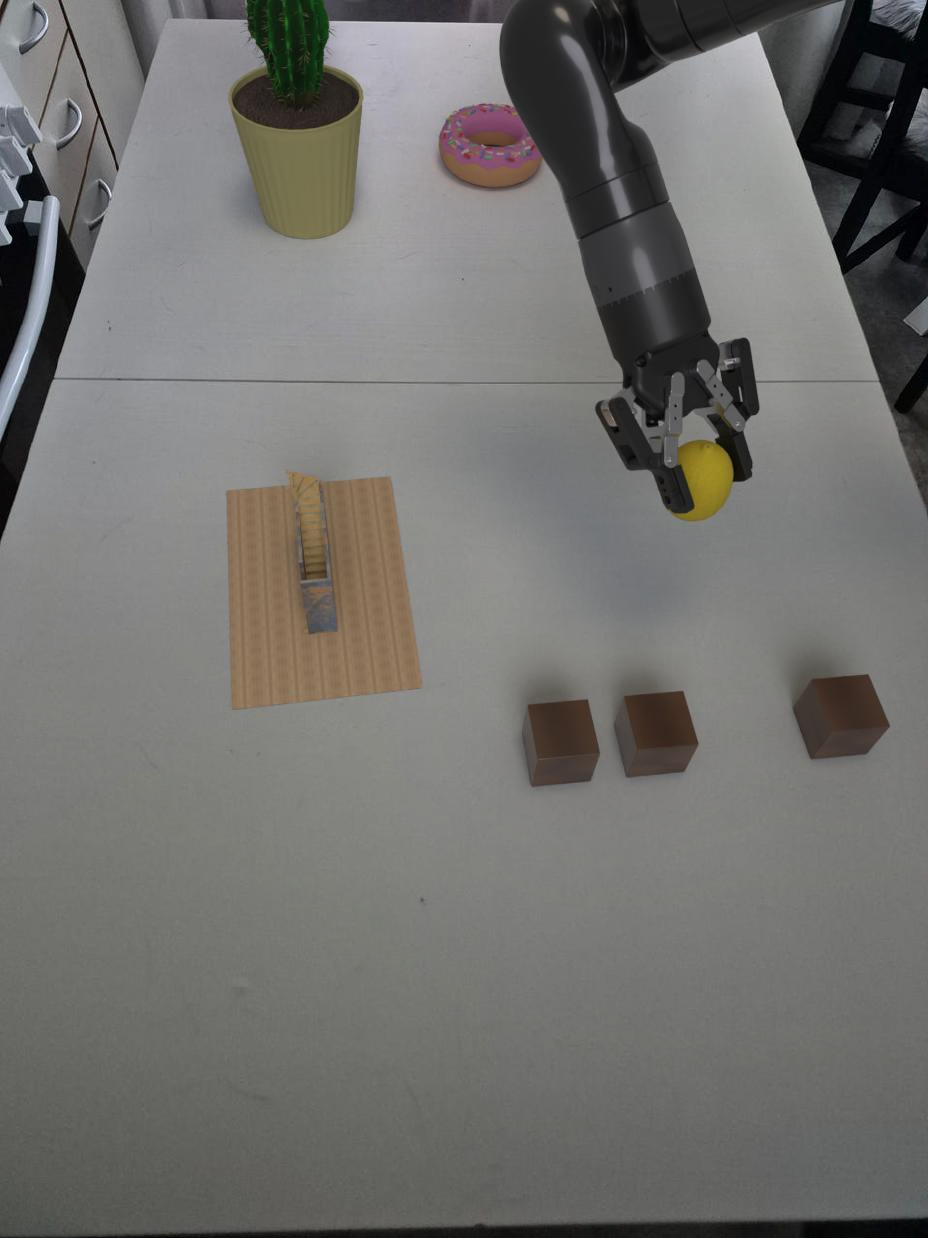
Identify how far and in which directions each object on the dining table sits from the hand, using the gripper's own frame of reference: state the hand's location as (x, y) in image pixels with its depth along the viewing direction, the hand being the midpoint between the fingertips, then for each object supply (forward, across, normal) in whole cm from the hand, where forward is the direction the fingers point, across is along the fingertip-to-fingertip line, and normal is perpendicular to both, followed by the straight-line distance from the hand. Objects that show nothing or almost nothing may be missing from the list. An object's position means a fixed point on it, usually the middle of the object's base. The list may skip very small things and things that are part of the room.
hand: (712, 494), depth 75 cm
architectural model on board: (-3, -25, +27) cm, 37 cm away
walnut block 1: (+16, -17, +8) cm, 25 cm away
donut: (-37, +30, +62) cm, 78 cm away
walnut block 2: (+19, -10, +5) cm, 22 cm away
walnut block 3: (+24, +4, 0) cm, 24 cm away
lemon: (+2, 0, +4) cm, 5 cm away
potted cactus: (-39, +4, +64) cm, 75 cm away
